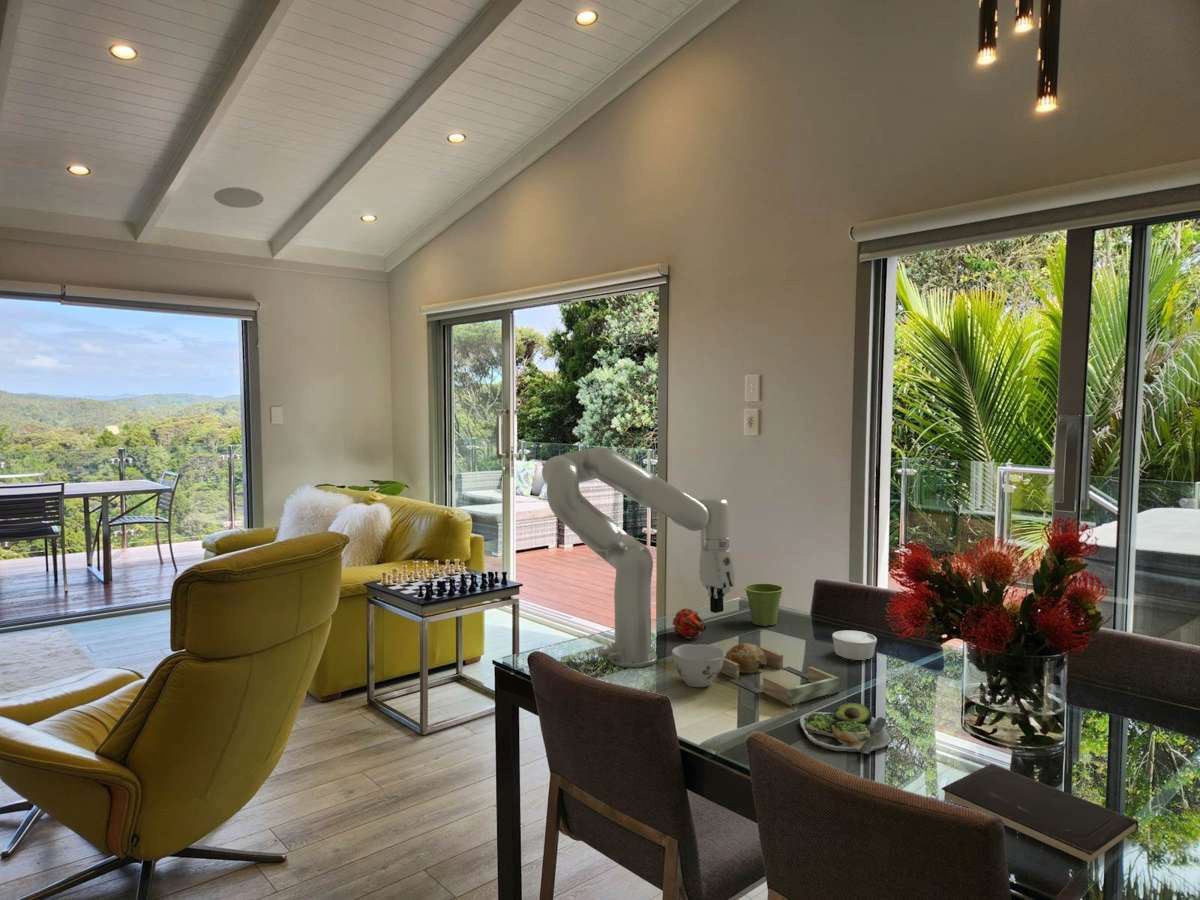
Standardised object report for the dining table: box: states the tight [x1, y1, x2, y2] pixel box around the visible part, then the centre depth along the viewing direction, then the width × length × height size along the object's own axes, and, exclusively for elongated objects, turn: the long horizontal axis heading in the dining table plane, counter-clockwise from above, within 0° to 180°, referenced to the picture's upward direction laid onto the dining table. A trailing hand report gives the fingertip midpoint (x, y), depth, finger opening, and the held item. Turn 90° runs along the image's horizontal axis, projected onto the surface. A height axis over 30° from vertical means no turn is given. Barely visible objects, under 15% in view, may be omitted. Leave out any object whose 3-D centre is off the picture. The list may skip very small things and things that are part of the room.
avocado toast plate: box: [799, 702, 892, 755], centre depth 152 cm, size 19×18×5 cm
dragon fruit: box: [672, 608, 707, 640], centre depth 221 cm, size 8×8×12 cm
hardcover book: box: [941, 763, 1139, 864], centre depth 124 cm, size 16×23×2 cm
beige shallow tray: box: [719, 646, 841, 706], centre depth 184 cm, size 19×27×4 cm
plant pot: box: [743, 582, 785, 627], centre depth 233 cm, size 12×12×11 cm
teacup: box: [671, 643, 725, 688], centre depth 184 cm, size 15×12×8 cm
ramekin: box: [831, 629, 878, 661], centre depth 203 cm, size 11×11×5 cm
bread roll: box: [724, 642, 767, 674], centre depth 194 cm, size 10×10×8 cm
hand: (716, 611), depth 205 cm, fingers closed
